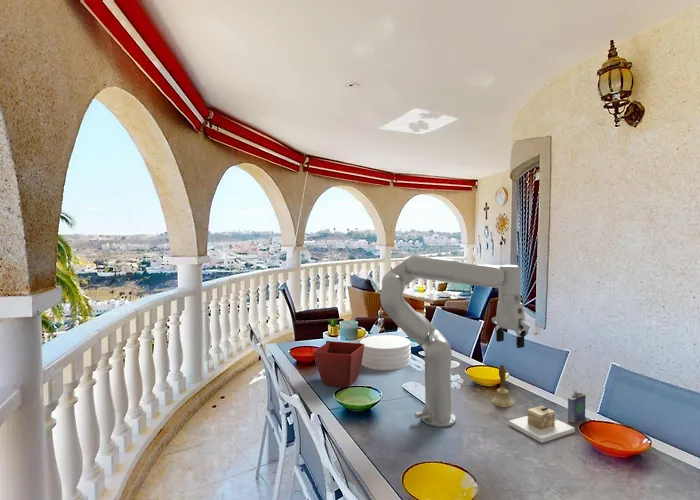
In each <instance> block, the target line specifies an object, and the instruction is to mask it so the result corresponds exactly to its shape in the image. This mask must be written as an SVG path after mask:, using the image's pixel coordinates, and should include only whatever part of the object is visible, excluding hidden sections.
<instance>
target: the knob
mask: <svg viewBox="0 0 700 500" xmlns="http://www.w3.org/2000/svg"><path fill="white" fill-rule="evenodd" d="M555 413H556V412H555V411H554V410H553V409H550V408H549V407H547V406H544V405H538V406H535V407H532V408H528V409H527V416H528V424H530V425H532V426H534V427H536V428H538V429H540V430H541V429H545V428H548V427H551V426H554V425H555V419H556V418H555V415H556V414H555Z"/></svg>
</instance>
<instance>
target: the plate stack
mask: <svg viewBox="0 0 700 500" xmlns="http://www.w3.org/2000/svg"><path fill="white" fill-rule="evenodd" d="M359 343H360V344H364V352H363V358H362V363H361V366H363V367H365V368H367V367H368V368H367V369H371V370H376V371H393V370H394V371H395V370H400V369H404V368H408V367H409V366H410V365H409V363H408V361H409V360H410V359H411V360H412V351H411V349H412V346H411V345H412V341H411V339H410V338H408V337H405V336H399V335H393V334H392V335H389V334H383V335H371V336H370V335H369V336H367V337H363V338H362V339H360V341H359Z"/></svg>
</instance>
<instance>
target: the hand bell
mask: <svg viewBox="0 0 700 500" xmlns="http://www.w3.org/2000/svg"><path fill="white" fill-rule="evenodd" d="M506 375H507V374H506V368H505V366H504V364H500V366H499V368H498V376H499V379H500V381H499V382H500V385H499V388H498V389H496V394H495V396H494V398H493V399H492V400H491V403H492V404H493V405H494V406H496V407H500V408H512V407H514V405H515V404H514V401H513V400H511V397H510V393H509V390H508V389H507V388H506V387H505V379H506Z"/></svg>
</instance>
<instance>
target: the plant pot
mask: <svg viewBox="0 0 700 500" xmlns="http://www.w3.org/2000/svg"><path fill="white" fill-rule="evenodd" d="M363 352H364V344H360V342H358V343H356V342H344V341H332V340H331V341H328V342H326V343H325V344H322V345H321V346H320V347H318V348H317V349H315V350H313V356H314V361H315V365H316V368H317V371H318V374H319V376H320V379H321V382H322V383H323V385H324V386H331V387H336V388H337V387H339V388H346V387H347V388H349V387H350V386H352V385H353V384H354V382H356V380H358V378H359V375H360V370H361V368H362V364H361V363H362V358H363ZM348 386H349V387H348Z"/></svg>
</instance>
